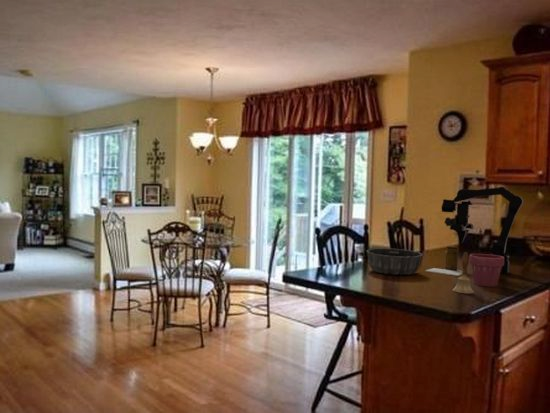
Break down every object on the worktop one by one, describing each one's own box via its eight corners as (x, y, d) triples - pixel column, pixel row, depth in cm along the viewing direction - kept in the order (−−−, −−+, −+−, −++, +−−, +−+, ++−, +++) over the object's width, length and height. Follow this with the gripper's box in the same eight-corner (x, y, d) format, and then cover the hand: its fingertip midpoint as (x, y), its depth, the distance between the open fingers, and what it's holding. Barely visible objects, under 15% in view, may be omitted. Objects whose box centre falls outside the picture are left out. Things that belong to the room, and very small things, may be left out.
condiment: (448, 268, 272) (450, 245, 271) (463, 271, 265) (465, 247, 265) (440, 269, 267) (442, 246, 266) (455, 272, 261) (457, 248, 260)
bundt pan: (423, 279, 238) (424, 257, 237) (364, 275, 243) (365, 253, 243) (419, 270, 264) (420, 250, 263) (366, 266, 269) (367, 247, 269)
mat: (465, 273, 258) (465, 272, 258) (457, 276, 249) (457, 274, 249) (433, 269, 267) (433, 267, 267) (425, 271, 259) (425, 270, 259)
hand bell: (469, 289, 217) (471, 251, 217) (477, 294, 209) (479, 254, 208) (449, 289, 217) (451, 250, 216) (456, 293, 209) (459, 253, 208)
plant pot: (474, 280, 240) (476, 252, 239) (506, 285, 231) (508, 256, 231) (463, 284, 229) (465, 255, 228) (496, 289, 220) (498, 259, 219)
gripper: (453, 211, 286) (451, 240, 286) (440, 212, 271) (439, 242, 272) (474, 213, 279) (472, 242, 280) (462, 214, 264) (460, 245, 265)
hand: (461, 243), depth 274 cm, fingers closed
